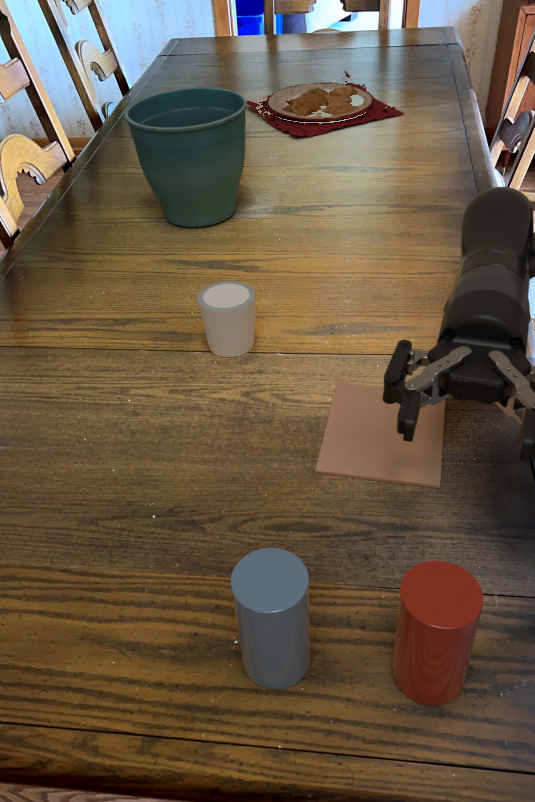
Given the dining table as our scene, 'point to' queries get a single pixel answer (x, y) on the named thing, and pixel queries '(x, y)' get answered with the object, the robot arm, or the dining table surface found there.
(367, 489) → the dining table surface
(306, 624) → the grey upright cylinder
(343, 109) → the plate with food
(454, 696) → the glossy red cylinder
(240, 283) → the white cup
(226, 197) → the flower pot
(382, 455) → the terracotta mat
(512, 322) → the robot arm
